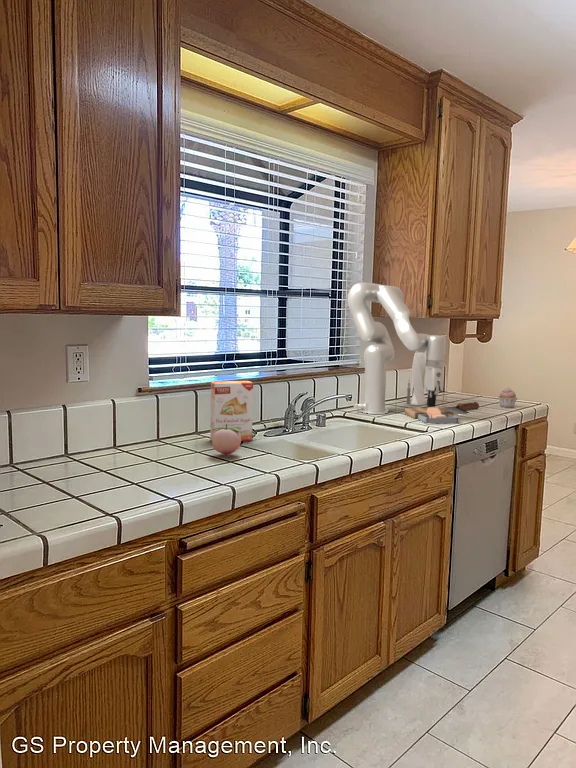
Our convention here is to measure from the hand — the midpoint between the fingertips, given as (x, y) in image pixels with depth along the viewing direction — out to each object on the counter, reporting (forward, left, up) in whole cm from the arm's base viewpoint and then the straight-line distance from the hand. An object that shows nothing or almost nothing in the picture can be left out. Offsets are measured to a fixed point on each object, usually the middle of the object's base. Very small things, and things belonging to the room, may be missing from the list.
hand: (431, 406), depth 248 cm
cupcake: (+53, +29, -6) cm, 60 cm away
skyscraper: (+10, +39, -6) cm, 40 cm away
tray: (+1, -6, -6) cm, 8 cm away
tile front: (0, -8, -3) cm, 8 cm away
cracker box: (-88, -33, -6) cm, 94 cm away
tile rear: (0, -2, -4) cm, 4 cm away
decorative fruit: (-91, -55, -6) cm, 107 cm away
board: (+2, +6, -6) cm, 8 cm away
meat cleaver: (+22, +16, -6) cm, 28 cm away
